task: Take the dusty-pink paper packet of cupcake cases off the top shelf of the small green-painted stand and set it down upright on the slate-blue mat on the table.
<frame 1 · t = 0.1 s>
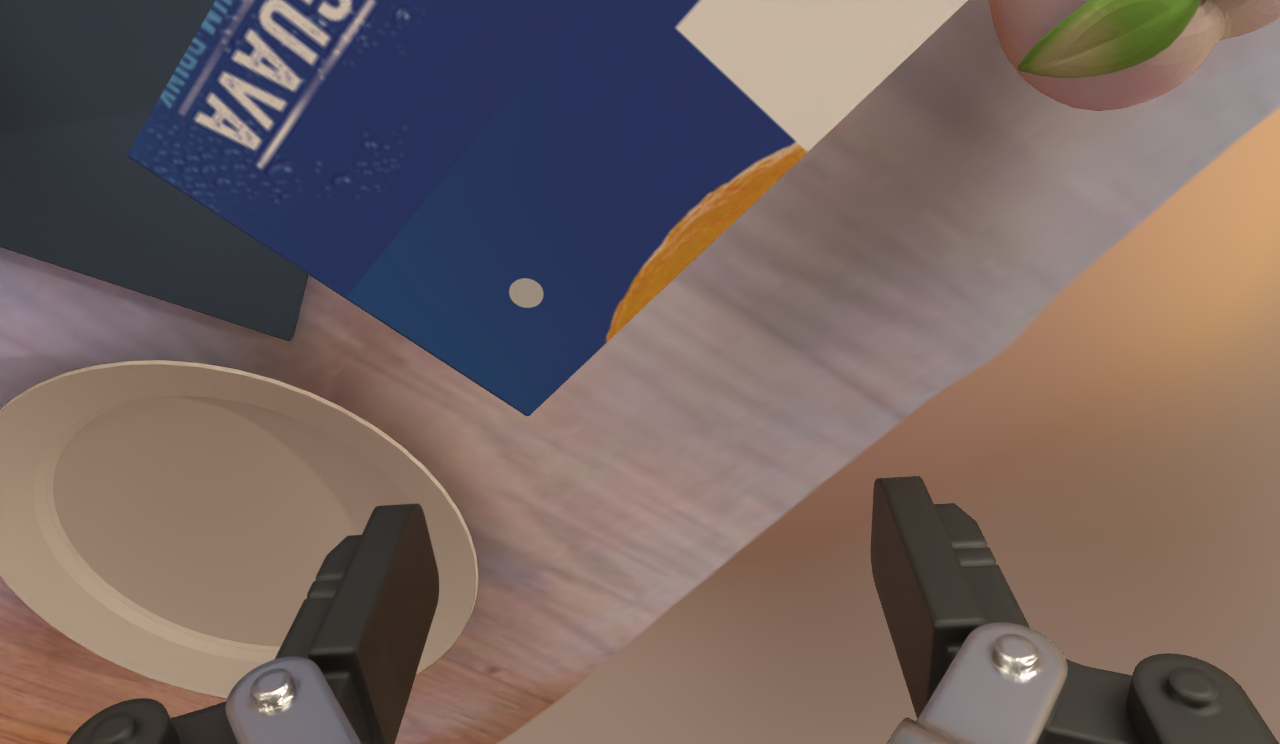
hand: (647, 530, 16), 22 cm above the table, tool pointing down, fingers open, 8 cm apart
plate: (247, 530, 48), on the table
mat: (146, 141, 35), on the table
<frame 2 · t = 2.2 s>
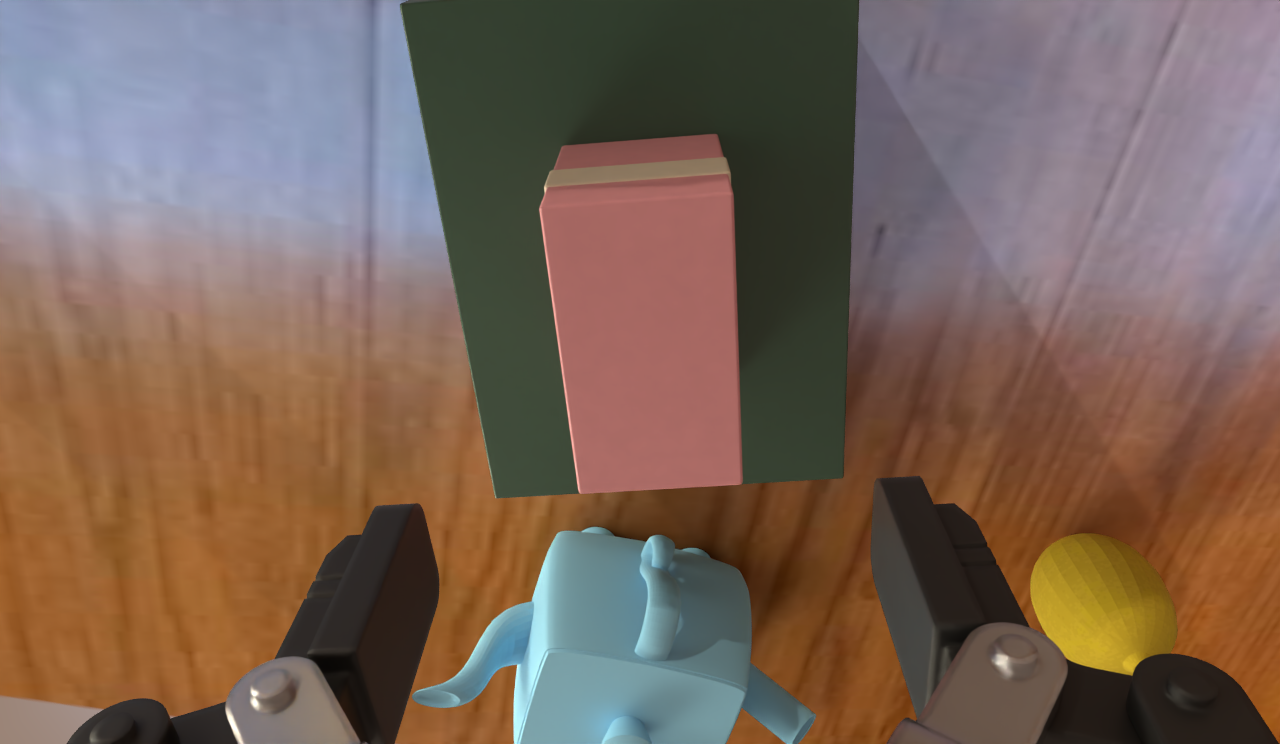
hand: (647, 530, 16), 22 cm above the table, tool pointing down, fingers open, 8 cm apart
teapot: (625, 596, 46), on the table
shelf stand: (651, 178, 36), on the table
packet: (650, 272, 27), point 10 cm above the table, touching shelf stand
lemon: (1062, 543, 44), on the table
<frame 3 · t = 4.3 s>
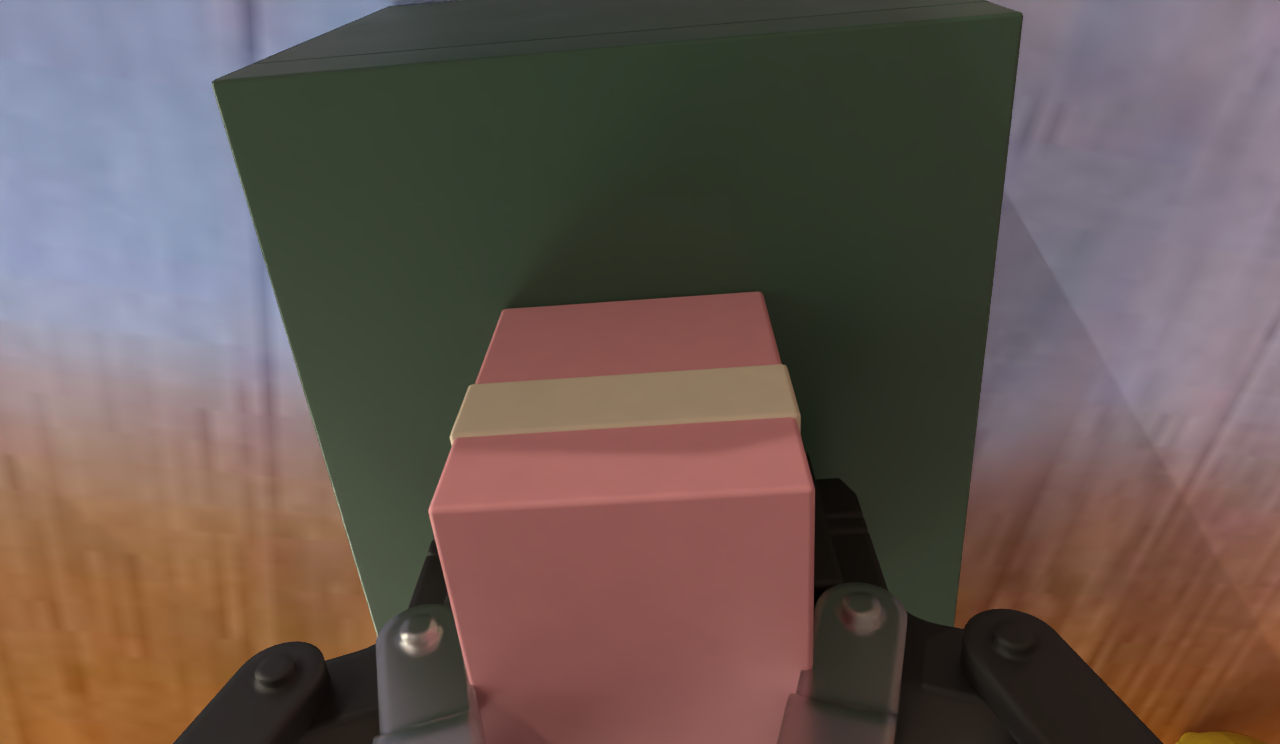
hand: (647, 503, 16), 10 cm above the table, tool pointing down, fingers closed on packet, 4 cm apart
shelf stand: (652, 286, 26), on the table
packet: (649, 492, 17), point 10 cm above the table, touching gripper, shelf stand
lemon: (1184, 731, 34), on the table
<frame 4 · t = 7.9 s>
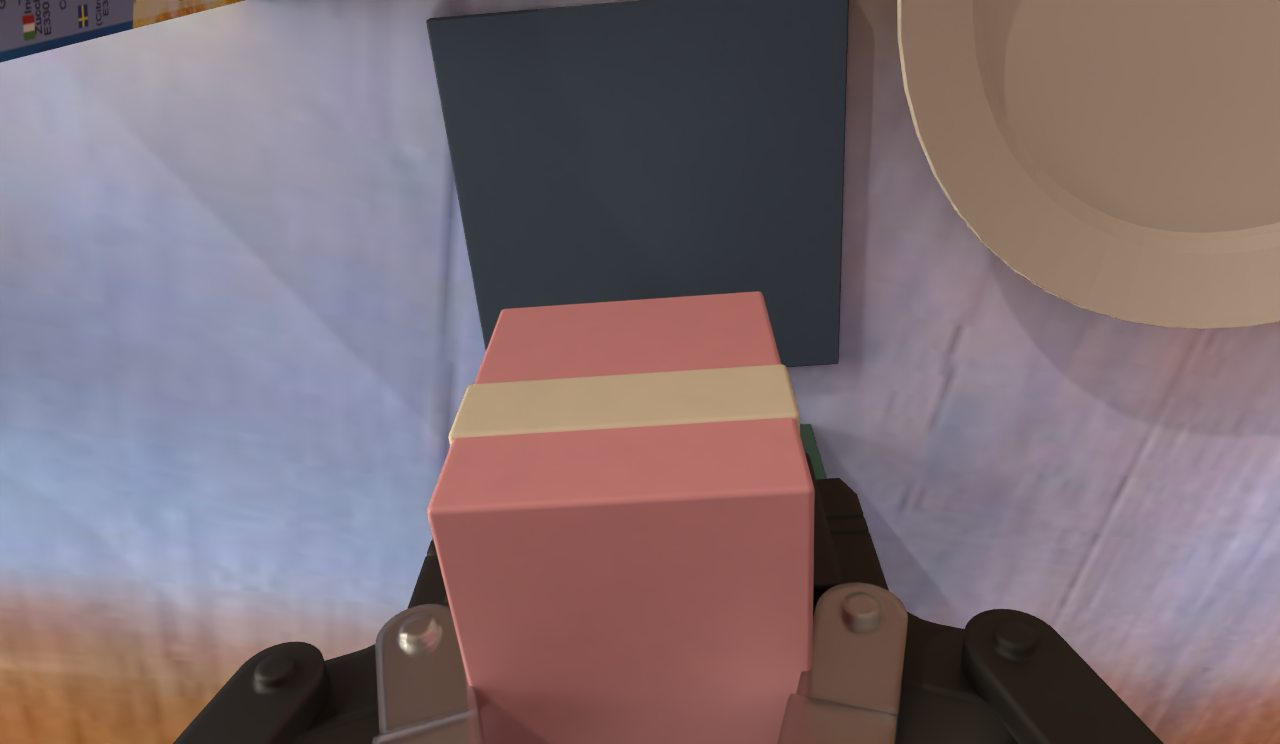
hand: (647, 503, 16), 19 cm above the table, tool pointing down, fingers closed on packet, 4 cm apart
shelf stand: (679, 577, 41), on the table
packet: (649, 493, 17), point 18 cm above the table, touching gripper
mat: (650, 203, 33), on the table
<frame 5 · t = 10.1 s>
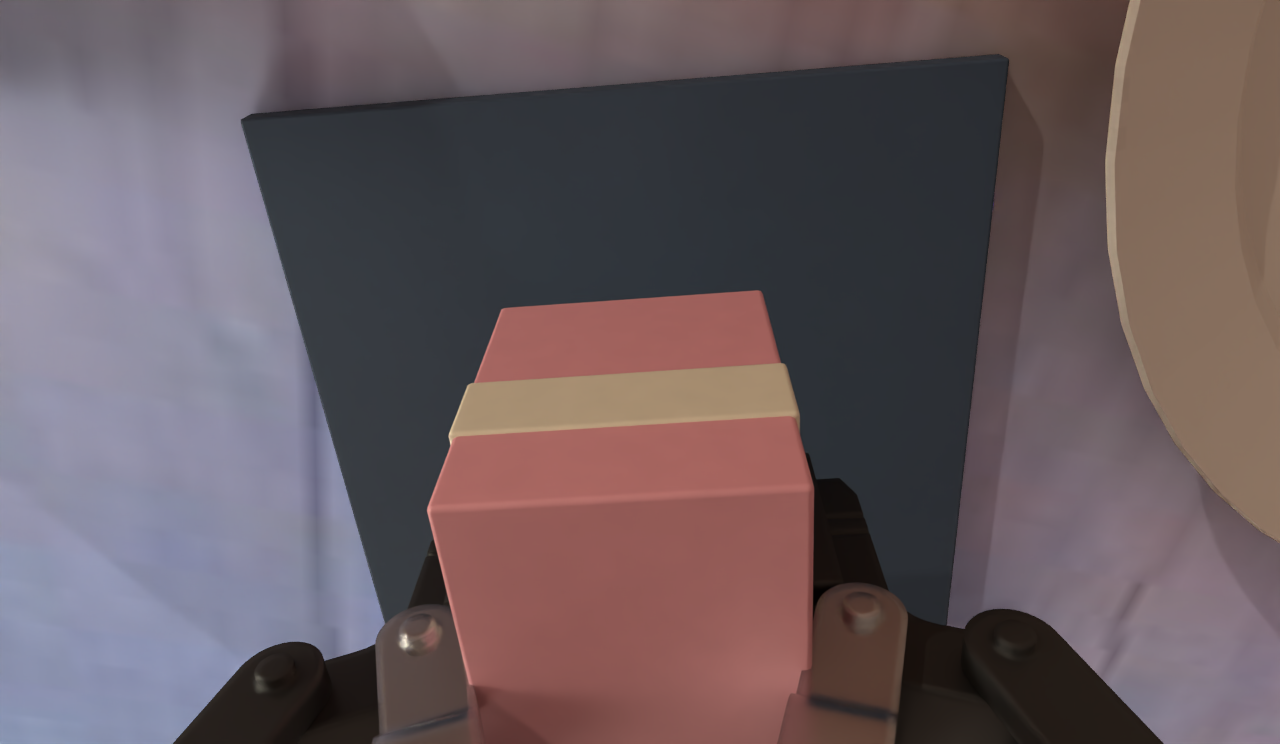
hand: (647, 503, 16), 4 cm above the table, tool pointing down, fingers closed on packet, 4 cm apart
packet: (648, 491, 17), point 3 cm above the table, touching gripper
mat: (646, 408, 20), on the table
when the fingers open (1 cm above the table, at t = 11.5 s): packet stays where it is, resting on mat.
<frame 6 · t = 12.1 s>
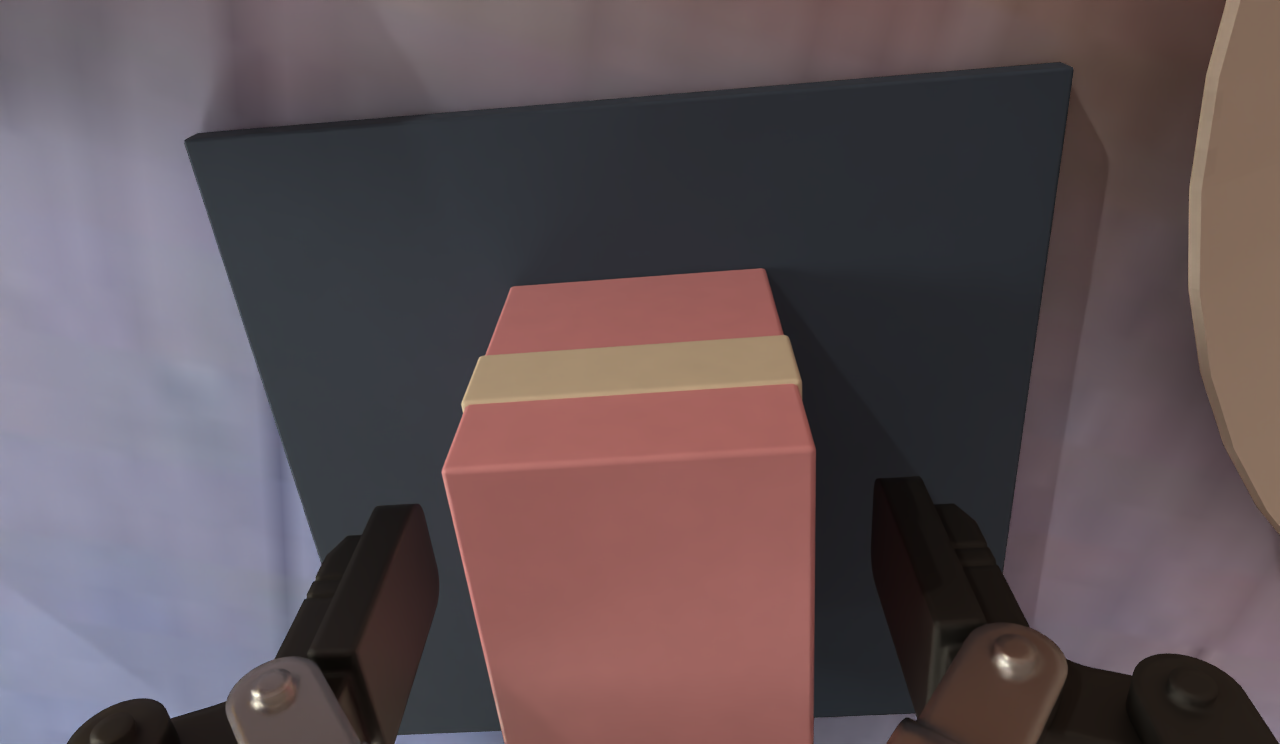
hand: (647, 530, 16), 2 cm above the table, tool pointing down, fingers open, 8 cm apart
packet: (654, 468, 17), resting on mat
mat: (651, 459, 18), on the table
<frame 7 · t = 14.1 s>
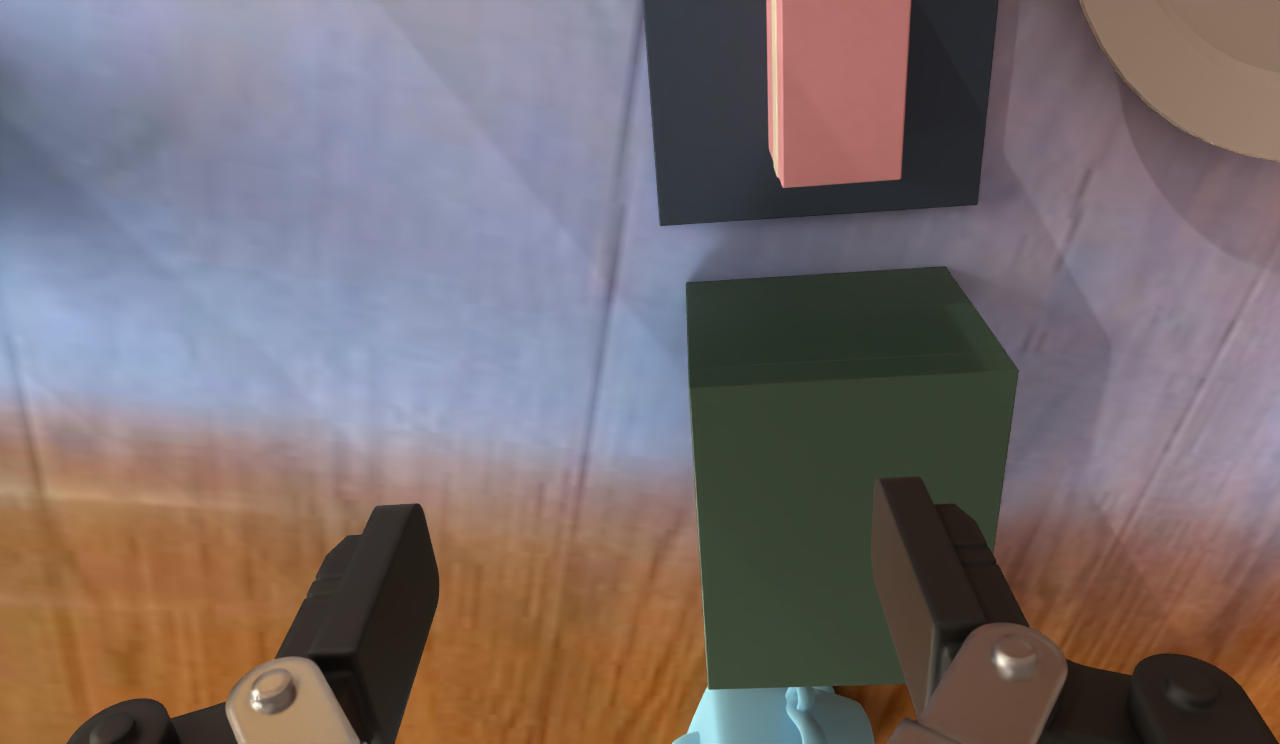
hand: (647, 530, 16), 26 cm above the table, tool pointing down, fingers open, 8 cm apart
teapot: (760, 716, 56), on the table
shelf stand: (812, 420, 45), on the table
packet: (821, 47, 36), resting on mat
mat: (817, 49, 37), on the table
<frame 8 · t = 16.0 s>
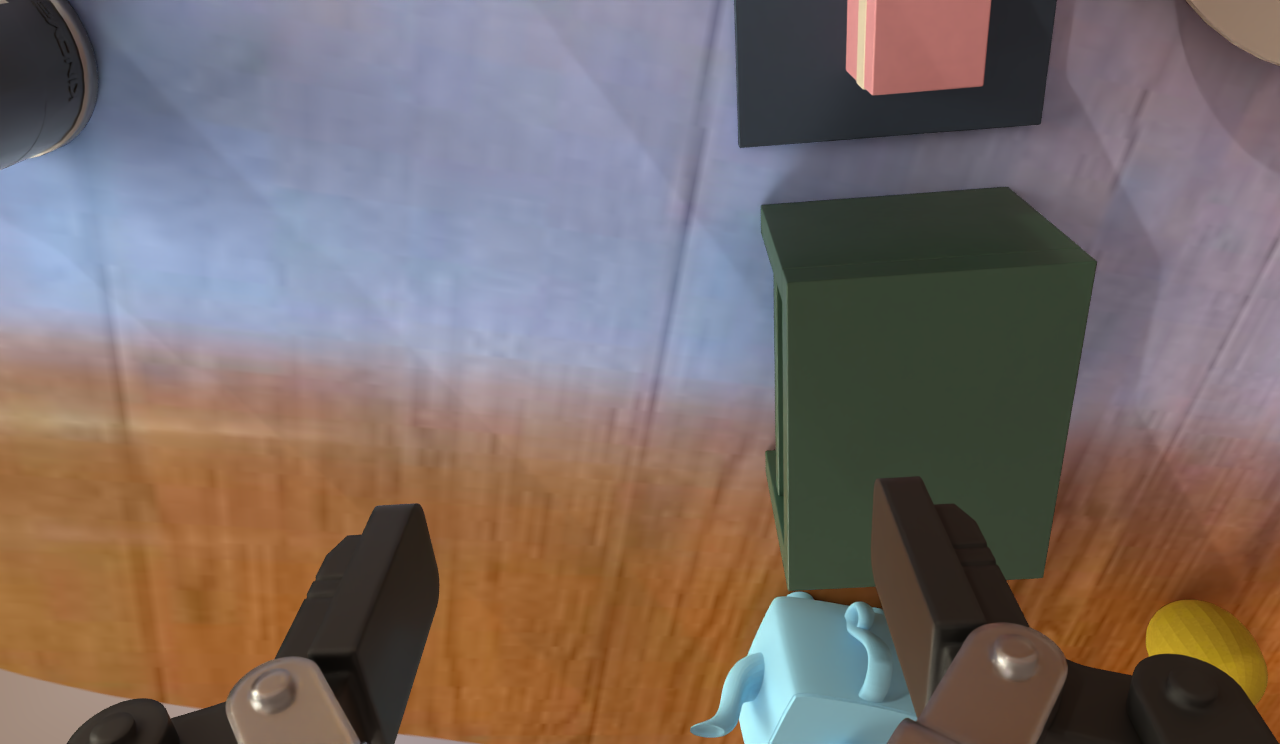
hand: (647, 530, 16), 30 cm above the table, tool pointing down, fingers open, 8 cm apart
teapot: (814, 644, 58), on the table
shelf stand: (876, 341, 47), on the table
lemon: (1167, 604, 56), on the table
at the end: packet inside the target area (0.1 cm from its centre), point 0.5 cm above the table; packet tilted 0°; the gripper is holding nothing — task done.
